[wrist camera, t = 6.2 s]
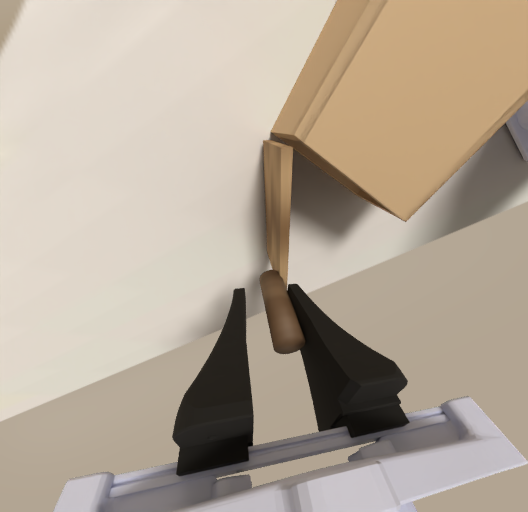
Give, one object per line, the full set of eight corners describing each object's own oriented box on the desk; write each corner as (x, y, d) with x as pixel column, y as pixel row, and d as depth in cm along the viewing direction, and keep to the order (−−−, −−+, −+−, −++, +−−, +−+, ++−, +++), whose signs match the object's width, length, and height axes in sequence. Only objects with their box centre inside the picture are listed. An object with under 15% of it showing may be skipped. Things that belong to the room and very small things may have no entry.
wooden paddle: (272, 251, 20) (308, 350, 11) (253, 253, 19) (273, 357, 11) (271, 140, 14) (344, 163, 5) (242, 141, 14) (270, 169, 5)
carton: (468, 58, 13) (610, 18, 8) (357, 195, 18) (405, 221, 13) (388, -100, 9) (570, -356, 4) (270, 131, 14) (294, 134, 9)
